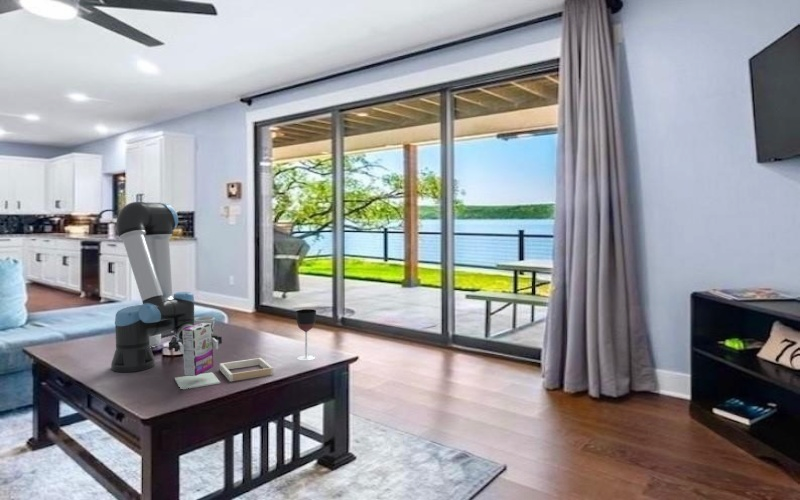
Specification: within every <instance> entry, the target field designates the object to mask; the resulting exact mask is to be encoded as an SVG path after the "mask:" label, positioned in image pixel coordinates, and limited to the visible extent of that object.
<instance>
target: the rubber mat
mask: <svg viewBox="0 0 800 500" xmlns="http://www.w3.org/2000/svg"><path fill="white" fill-rule="evenodd" d="M174 380H175V382H176V384H177V386H178V387H180V388H179V389H183V390H189V389H195V388H201V387H207V386H213V385H219V384H221V380H219V379H218V377H217V376H216V374H214V373H213V372H212V371H211V372H205V373H204V372H203V373H201V374H199V375H197V376H187V375H183V376H177V377H174ZM188 388H189V389H188Z"/></svg>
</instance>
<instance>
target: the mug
mask: <svg viewBox="0 0 800 500" xmlns="http://www.w3.org/2000/svg"><path fill="white" fill-rule="evenodd" d="M194 319H195V325H197V324H200V323H211V324H212V334H213V335H214V330H215V329H214V328H215V323H216V322H215V321H216V317H214V316H210V315H209V316H206V315H205V316H196V317H194Z"/></svg>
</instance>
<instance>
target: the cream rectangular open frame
mask: <svg viewBox="0 0 800 500" xmlns="http://www.w3.org/2000/svg"><path fill="white" fill-rule="evenodd" d="M255 366H260V367H261V368H260V369H254V370H253V369H252V370H247V371H240V372H239V371H238V372H234V373H233V372H232V371H230V370H233V369H240V368H248V367H255ZM219 371H220V372H221V373H222V374H223V376H224V377H225V378H226V379H227V380H228V381H229V382H234V381H235V382H236V381H241V380H248V379H254V378H260V377H266V376H274V374H275V373H274V367H273V366H272V365H270V364H269V363H268V362H267V361H266V360H264V359H263V358H262V357H258V358H250V359H249V358H248V359H243V360H235V361H228V362H221V363H219Z"/></svg>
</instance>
